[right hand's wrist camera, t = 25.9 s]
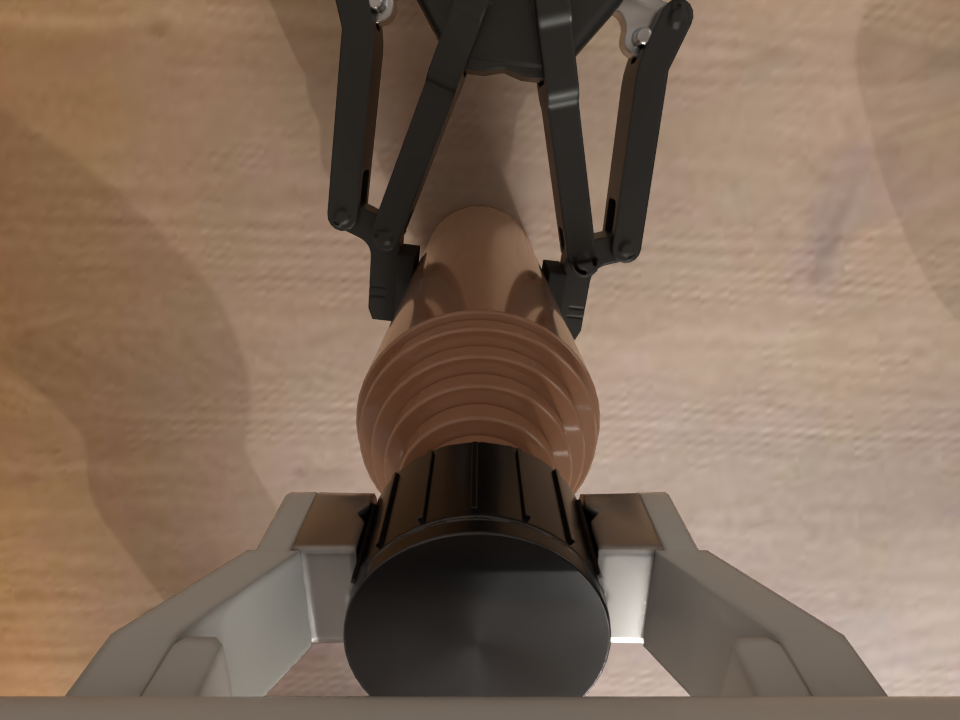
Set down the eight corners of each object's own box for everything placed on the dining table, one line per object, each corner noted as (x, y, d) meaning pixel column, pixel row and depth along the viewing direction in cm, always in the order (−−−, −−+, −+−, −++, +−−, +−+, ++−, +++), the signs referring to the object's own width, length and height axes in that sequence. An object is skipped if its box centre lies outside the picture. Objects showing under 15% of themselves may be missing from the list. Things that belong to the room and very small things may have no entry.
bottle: (519, 194, 31) (646, 391, 7) (540, 297, 33) (694, 711, 10) (413, 220, 32) (218, 482, 8) (441, 320, 34) (350, 768, 10)
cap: (558, 627, 11) (578, 752, 9) (360, 600, 11) (329, 723, 9) (607, 456, 10) (646, 553, 8) (383, 422, 10) (354, 511, 7)
